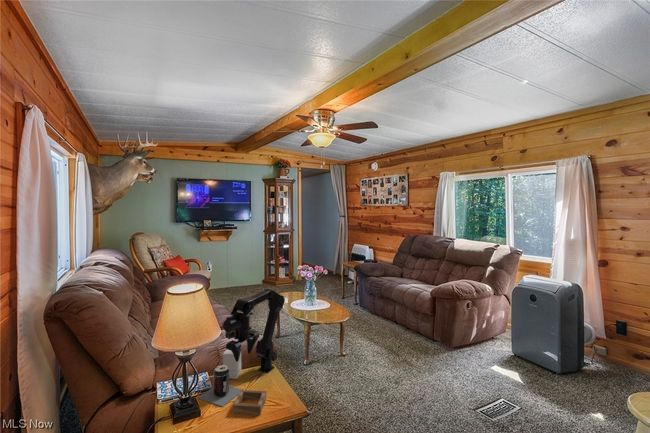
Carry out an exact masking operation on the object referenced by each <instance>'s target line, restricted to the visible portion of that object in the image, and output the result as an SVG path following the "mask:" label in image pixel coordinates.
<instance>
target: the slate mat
mask: <svg viewBox="0 0 650 433" xmlns="http://www.w3.org/2000/svg"><path fill="white" fill-rule="evenodd" d="M241 390H243V389H241V388H238V387H236V386H235V387H234V386H232V385H229V392H228V393H227V394H226V395H225V396H221V397H218V396H216V395H214V390H213V387H212V388H210V389H208V390H207V391H205V393H203V394H202V395H200V396H199V397H197V399H198V400H201V401H203V402H206V403H209V404H212V405H216V406H218V407H220V408H224V407H225V406H226V405H227V404H229V403H230V402H231V401H232V400H233V399H235V398H237V397H238V395H239V393H240V391H241Z"/></svg>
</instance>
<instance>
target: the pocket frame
mask: <svg viewBox="0 0 650 433" xmlns="http://www.w3.org/2000/svg"><path fill="white" fill-rule="evenodd" d="M245 400H246V401H258V402H257V403H243V401H245ZM266 401H267V391H266V390H252V389H251V390H249V389H246V390H245V389H242V390H241V391H240V393H239V395H237V396H236V399H235V401H234V403H233V405H232V413H233V414H234V415H235V414H237V415H255V416H256V415H259V416H260V415H261V414H262V411H263V408H264V405H265V403H266Z"/></svg>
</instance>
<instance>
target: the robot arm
mask: <svg viewBox="0 0 650 433" xmlns="http://www.w3.org/2000/svg"><path fill="white" fill-rule="evenodd" d="M266 300H267V301H268V303H267V306H268V314H267V318H266V322H265V326H264V329H263V334H262V335H263V336H262V338H261V339H258V338H260V333H259V331H257V330H253V329H252V326H250V325H251V324H250V321H251V320H250V316H252V315H253V314H254V313H253V312H252V311H253V310H254V308H255V307H256V306H257V305H259V304H261V303H263V302H265V301H266ZM285 302H286V299H285V297H284V295H283V294H282V295H281V294H279V293H277V292H276V291H275V290H273V289H270V288H264V290H261V291H260V292H258V293H256V294H254V295H252V296H250V297H242V298H239V299H237V300H236V302H235V304H234V306H233V308H232V310H231V312H230V315H231V316H226V318H225V320H224V321H223V323H222V327H223V331H225V338H226V339H228V340H231V339H232V340H231V341H229V342H226V344H225V349H226V350H227V349H228V350H231V351H232V353H233V355H234V358H235V360H236V362H238V360H239V357H240V353H241V354H242V344H243V343H245V342H246V344H247V354H248V355H250V354H251V353H252V351H253V348H254V347H255V353H256V355H257V356H256V357H257V358H260V366H259V368H258V369H257V370H258V371H260V372H264V373H267V372H268V373H270V372H271V371H272V370H273V369H275V368H276V366H275V365H273V361H274V360H275V359H276V358H277V353H276V351H274V344H273V337H274V336H273V335H274V334H275V333H274V332H275V328H276V324H277V320H278V315H279V312H281V310H282V309H283V308H284V305H285ZM233 339H234V340H233ZM236 340H237V341H236ZM255 344H256V345H255ZM274 366H275V367H274Z"/></svg>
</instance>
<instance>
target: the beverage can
mask: <svg viewBox="0 0 650 433" xmlns="http://www.w3.org/2000/svg"><path fill="white" fill-rule="evenodd" d="M212 381H213V382H212V383H213V386H212V388H213V390H214V395H216V396H218V397H221V396H225V395H226V394H227V393H228V392H229V386H230V378H229V369H228V367H227V366H226V365H223V364H222V365H221V364H220V365H218V366H216V367H215V368H214V370H213V380H212Z"/></svg>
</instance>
